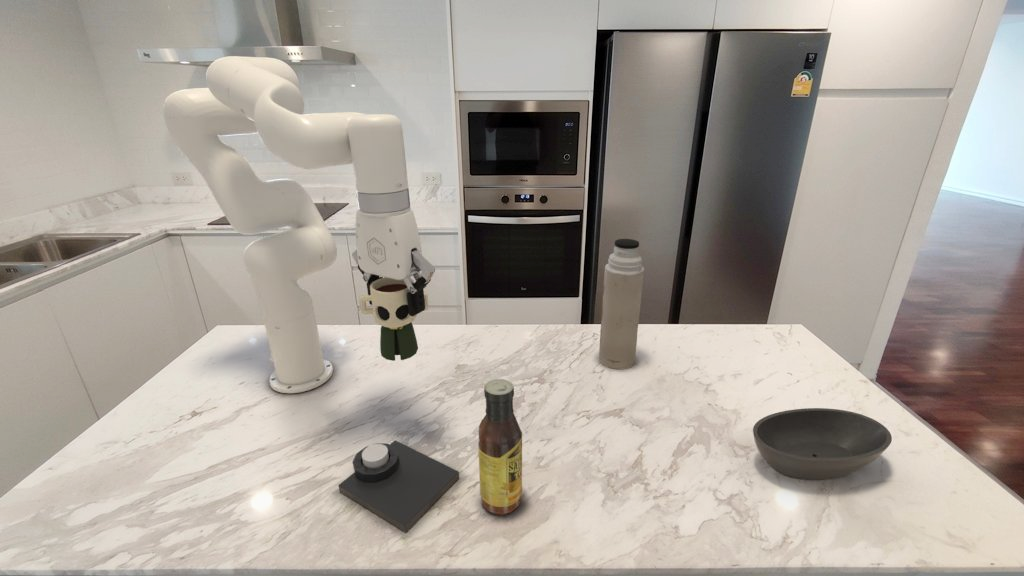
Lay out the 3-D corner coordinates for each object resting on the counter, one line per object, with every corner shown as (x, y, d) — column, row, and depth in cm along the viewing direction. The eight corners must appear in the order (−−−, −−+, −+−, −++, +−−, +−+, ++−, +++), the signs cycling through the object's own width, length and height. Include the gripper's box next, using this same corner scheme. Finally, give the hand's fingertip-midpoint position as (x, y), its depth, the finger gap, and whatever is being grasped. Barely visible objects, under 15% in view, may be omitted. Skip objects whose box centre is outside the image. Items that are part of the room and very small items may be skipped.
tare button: (357, 463, 76) (356, 455, 75) (376, 448, 79) (375, 440, 78) (375, 472, 74) (374, 465, 73) (394, 457, 77) (393, 449, 76)
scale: (333, 488, 75) (330, 473, 73) (390, 443, 84) (388, 429, 83) (406, 533, 67) (403, 517, 66) (459, 478, 76) (458, 463, 75)
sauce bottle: (517, 520, 69) (516, 405, 61) (475, 513, 70) (469, 399, 62) (525, 486, 74) (525, 377, 67) (486, 480, 76) (482, 372, 68)
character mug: (364, 367, 78) (353, 295, 73) (369, 345, 85) (360, 277, 79) (431, 362, 79) (426, 291, 74) (432, 341, 86) (427, 273, 81)
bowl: (729, 446, 82) (735, 416, 80) (843, 431, 85) (852, 402, 83) (775, 501, 71) (784, 469, 69) (904, 482, 74) (917, 450, 72)
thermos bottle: (592, 362, 108) (600, 242, 97) (608, 347, 114) (616, 233, 103) (626, 373, 103) (637, 249, 93) (640, 357, 109) (652, 239, 99)
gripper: (325, 200, 73) (342, 305, 80) (410, 213, 65) (422, 328, 71) (362, 192, 79) (376, 289, 86) (445, 202, 71) (453, 309, 77)
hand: (397, 306), depth 79 cm, fingers closed on character mug, 8 cm apart
